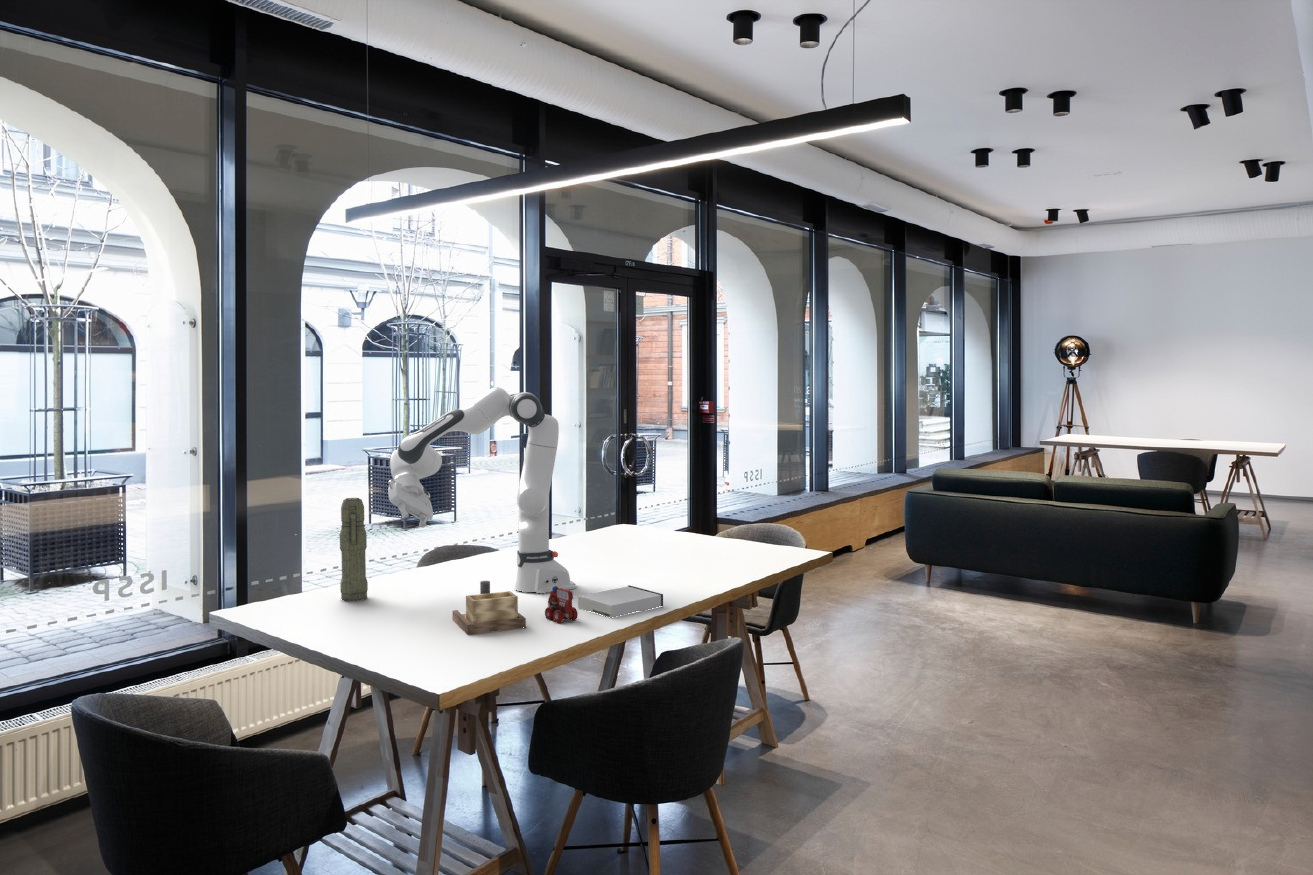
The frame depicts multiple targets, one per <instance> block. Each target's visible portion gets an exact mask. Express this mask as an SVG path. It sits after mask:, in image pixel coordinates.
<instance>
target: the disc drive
mask: <svg viewBox="0 0 1313 875" xmlns="http://www.w3.org/2000/svg"><path fill="white" fill-rule="evenodd" d="M577 598H578V599H577V601H578V602H577V607H578V608H580V609H579V610H581V609H583V610H582V611H584V610H586V611H585V612H587V611H591V612H595V613H598V614H601V615H603V616H602V617H604V616H607V617H610V618H611V619H613V618H612V617H616V616H620V615H624V614H628V613H632V612H636V611H643V612H646V611H645V610H647V611H649V610H648V609H652V608H656V607H659V606H663V607H664V593H661V592H656V591H653V590H648V589H645V588H640V587H637V586H633V585H630V584H628V585H627V586H622V587H617V588H613V589H607V590H603V591H597V592H592V593H586V594H582V595H578V596H577ZM578 608H577V609H578ZM656 609H657V608H656ZM652 610H653V609H652ZM591 612H590V613H591ZM601 615H600V616H601ZM607 617H606V618H607ZM620 617H621V616H620ZM610 618H609V619H610ZM616 618H617V617H616Z"/></svg>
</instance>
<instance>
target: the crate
mask: <svg viewBox="0 0 1313 875" xmlns="http://www.w3.org/2000/svg"><path fill="white" fill-rule="evenodd" d="M479 584H480V588H479V591H480V594H478V593H477V594H471V595H470V594H469V595H466V596H465V614H466V619H467V620H468V621H469V622H470V623H480V622H489V621H497V620H506V619H514V618H518V613H519V609H518V608H519V604H518V602H519V597H518V595H517V594H514V593H513V592H512V591H499V592H491V581H490V580H481V581H479Z"/></svg>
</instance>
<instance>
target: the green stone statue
mask: <svg viewBox="0 0 1313 875" xmlns="http://www.w3.org/2000/svg"><path fill="white" fill-rule="evenodd" d="M341 503H342V504H341V506H340V520H341V525H340V527H341V529H340V531H339V549H340V551H341V552H340V553H341V579H340V584H339V585H340V586H339V587H340V588H339V590H340V594H341V595H340V596H341V597H340V600H341V599H342V600H344V601H343V602H360V600H361V601H364V600H366V598H367V599H368V591H369V588H368V587H369V586H368V585H369V584H368V579H367V577H366V576H367V573H366V571H367V569H366V564H367V563H366V549H367V547H368V545H367V544H368V543H367V542H368V541H367V539H368V538H367V530H366V528H365V506H364V502H363V499H362V498H359V497H348V498H345V499H343V500H342V502H341ZM342 600H341V601H342Z"/></svg>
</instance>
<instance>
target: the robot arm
mask: <svg viewBox="0 0 1313 875" xmlns="http://www.w3.org/2000/svg"><path fill="white" fill-rule="evenodd" d="M507 416H508V417H511V418H513V419H514V420H515V421H516V422H518V423H520V424H523V425H525V426H527V430H528V436H527V440H526V446H525V453H524V459H523V464H522V469H521V474H520V480H519V485H518V492H517V495H516V502H517V506H518V526H517V531H518V532H517V533H518V535H517V537H518V538H517V539H518V540H517V541H518V547H517V548H518V549H517V551H516V564H517V573H516V581H515V584H514V588H513V589H514V590H515V591H516V590H517V591H516V592H519V591H522V592H521V593H527V592H536V593H535V594H538V593H544V594H547V593H546V592H551V591H552V588H553V587H554V586H557V587H558V588H562V589H566V590H569V591H570V590H573V589H576V588H577V583H576V582H574V581H572V580H571V576H570V572H569V570H568V569H567V568H566V567H564V566H563V565H561V563H559V562H558V561H556V559H555V558H558V557H559V553H558V552H557V551H553V550H552V549H550V535H549V534H550V530H549V529H550V492H551V485H552V480H553V474H554V469H555V462H556V456H557V452H558V451H557V450H558V443H559V432H560V430H559V422H558V420H557V419H556V417H554V416H552V415H550V414H546V413H545V411H544V409H543V406H542V403H541V401H540V400H539V398H538V397H537V396H536V395H534V394H533V393H531V392H529V391H528V392H527V391H524V392H519V393H513V394H509V393H508V392H507V390H505V389H503V388H501V387H499V386H495V387H492V388H490V389H487V391H485V392H483V393H482V394H480V395H479V396H477V397H476V398H475V399H474V400H472V401H471V402H469V403H468V404H466V405H465V406H463V407H460V408H454V409H451V410H449V411H448V412H446V413H444V414H442V415H440V416H439V417H438V418H436V419H434V420H433V421H432V422H430V423H428V424H427V425H425V426H424V427H422V428H420V429H418V430H417V431H414V432H412V433H410V434H408V435H406V436H404V437H402V439H401V440H400V442H399V443H398V447H397V449H395V450H394V451H393V452H392V454H391V456H390V459H389V465H390V474H391V477H392V479H390V480H389V481H388V485H389V486H388V488H387V490H388V491H387V493H388V494H387V495H388V500H389V503H391V504H392V505H394V506H395V507H397V508H398V510H399V512H400V513H401V514H400V515H401V517H402V518H404V519H407V518H409V517H410V516H409V515H412V516H414V517H415V518H417V519H419V522H418V525H419V527H421V528H423V529H424V528H425V527H427V522H429V520H431V519H432V518H433V517H434V511H433V506H432V502H431V500H430V498H431V494H430V492H429V491H428V490H427V489H426V488H425V487H424V486H423V485H422V483H421V481H420V480H423V479H425V478H429V477H431V476H434V475H436V474H437V473H438V472H439V471H440V470H441V468H442V465H443V457H442V455H441V454H440V453H439V452H438V451H437V450H436V449H435V448H434V447H432V446H431V443H434V442H435V441H436V440H438V439H439V438H441V437H443V436H444V435H446V434H447V433H449V432H453V431H458V432H464V433H467V434H470V435H480V434H482V433H485V432H487V431H488V430H489V429H490V428H491V427H492V426H493V425H494V424H496V423H497V422H498V421H499V420H500V419H502V418H504V417H507Z"/></svg>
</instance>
